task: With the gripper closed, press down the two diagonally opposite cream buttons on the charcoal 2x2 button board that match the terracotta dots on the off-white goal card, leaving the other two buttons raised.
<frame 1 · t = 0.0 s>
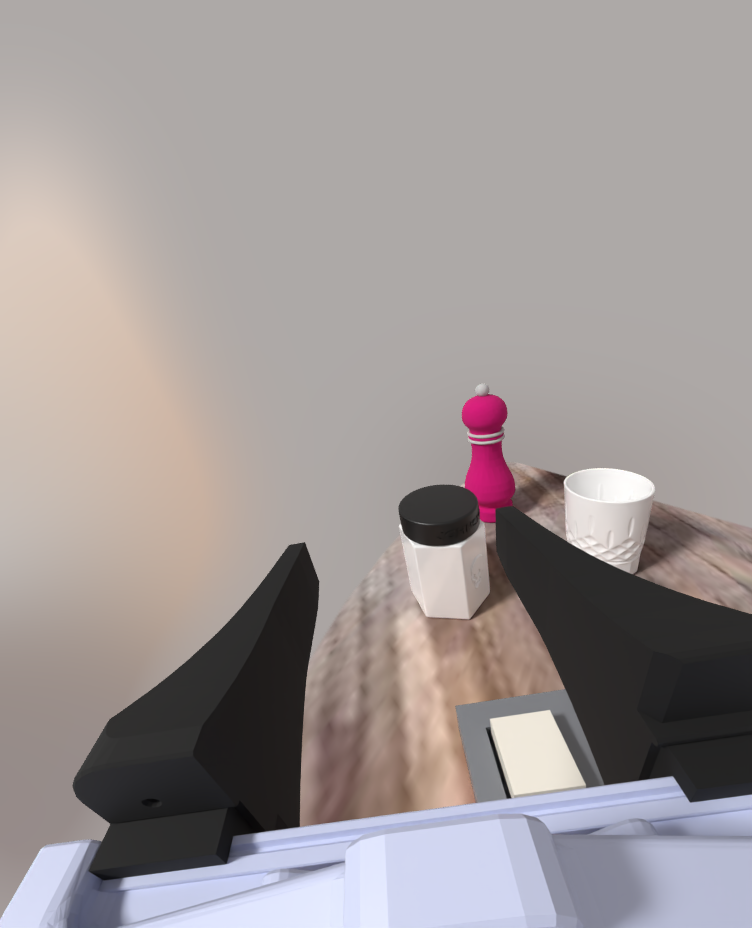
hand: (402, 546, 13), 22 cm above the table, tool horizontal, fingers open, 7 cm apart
jar: (449, 593, 39), on the table
button board: (626, 855, 19), on the table
white cup: (601, 561, 39), on the table
pepper mill: (491, 513, 53), on the table
button d: (533, 756, 21), point 3 cm above the table, slide at 0.0 cm
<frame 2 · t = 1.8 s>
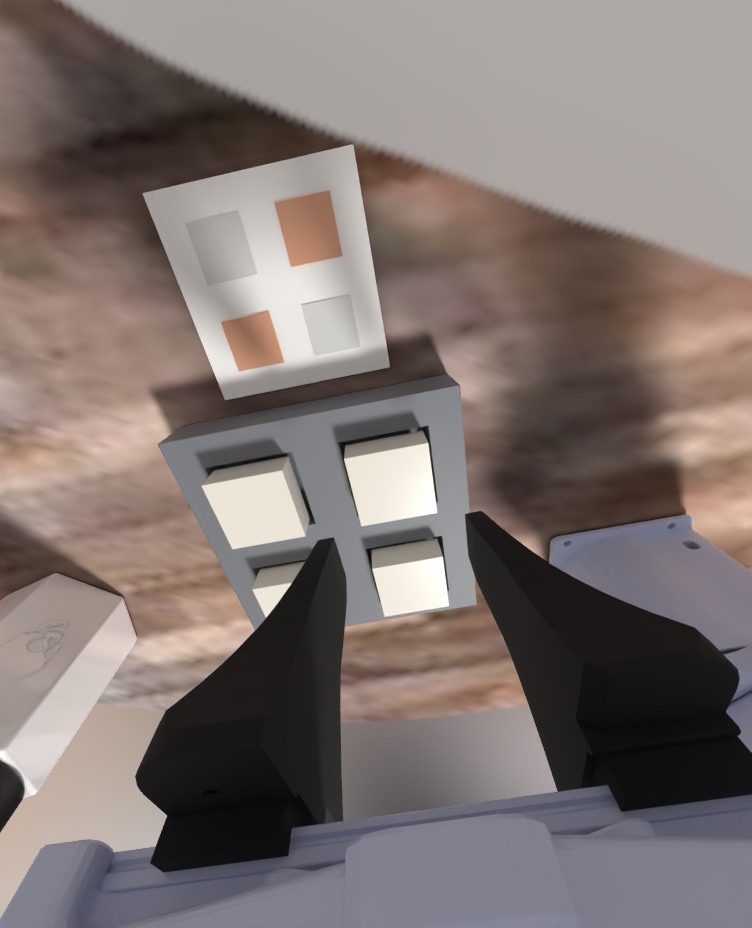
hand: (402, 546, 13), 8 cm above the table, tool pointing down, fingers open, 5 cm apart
button c: (260, 503, 18), point 3 cm above the table, slide at 0.0 cm
jar: (79, 613, 25), on the table
button board: (343, 511, 22), on the table
button a: (391, 479, 17), point 3 cm above the table, slide at 0.0 cm
goal card: (281, 290, 16), on the table
button b: (410, 578, 20), point 3 cm above the table, slide at 0.0 cm
button d: (298, 597, 21), point 3 cm above the table, slide at 0.0 cm
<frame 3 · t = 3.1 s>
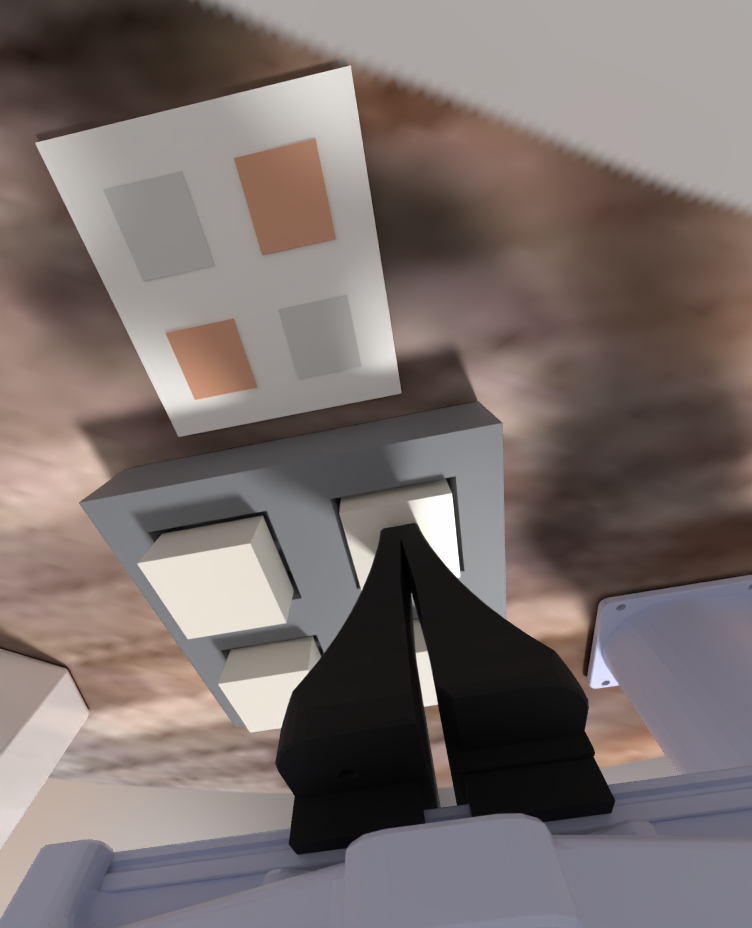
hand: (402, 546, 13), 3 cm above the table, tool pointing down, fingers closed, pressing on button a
button c: (224, 578, 13), point 3 cm above the table, slide at 0.0 cm
jar: (16, 685, 21), on the table
button board: (339, 570, 17), on the table
button a: (401, 533, 13), point 2 cm above the table, slide at 0.8 cm, touching gripper
goal card: (250, 288, 11), on the table
button b: (425, 662, 16), point 3 cm above the table, slide at 0.0 cm
button d: (280, 685, 16), point 3 cm above the table, slide at 0.0 cm
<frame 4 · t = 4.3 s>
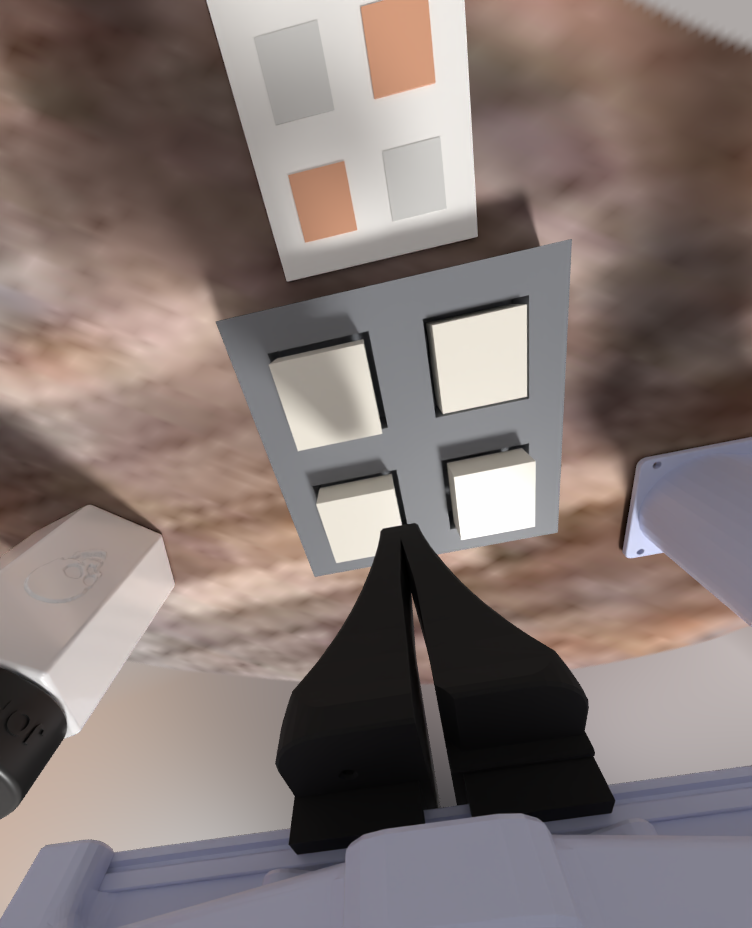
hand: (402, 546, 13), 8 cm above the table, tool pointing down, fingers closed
button c: (330, 396, 15), point 3 cm above the table, slide at 0.0 cm
jar: (113, 555, 23), on the table
button board: (409, 427, 20), on the table
button a: (476, 359, 16), point 2 cm above the table, slide at 0.9 cm
goal card: (358, 134, 14), on the table
button b: (490, 494, 18), point 3 cm above the table, slide at 0.0 cm
button d: (363, 519, 18), point 3 cm above the table, slide at 0.0 cm
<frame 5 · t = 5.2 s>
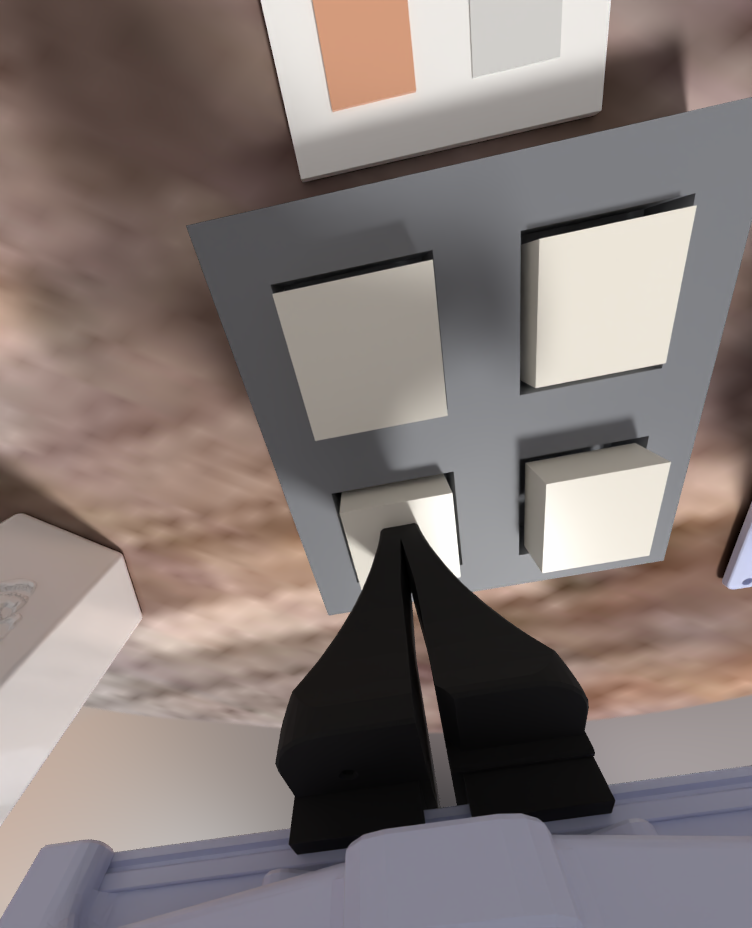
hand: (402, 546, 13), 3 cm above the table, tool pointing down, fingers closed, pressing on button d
button c: (367, 355, 10), point 3 cm above the table, slide at 0.0 cm
jar: (59, 579, 18), on the table
button board: (464, 412, 14), on the table
button a: (590, 305, 10), point 2 cm above the table, slide at 0.9 cm
button b: (587, 509, 13), point 3 cm above the table, slide at 0.0 cm
button d: (401, 533, 13), point 3 cm above the table, slide at 0.5 cm, touching gripper
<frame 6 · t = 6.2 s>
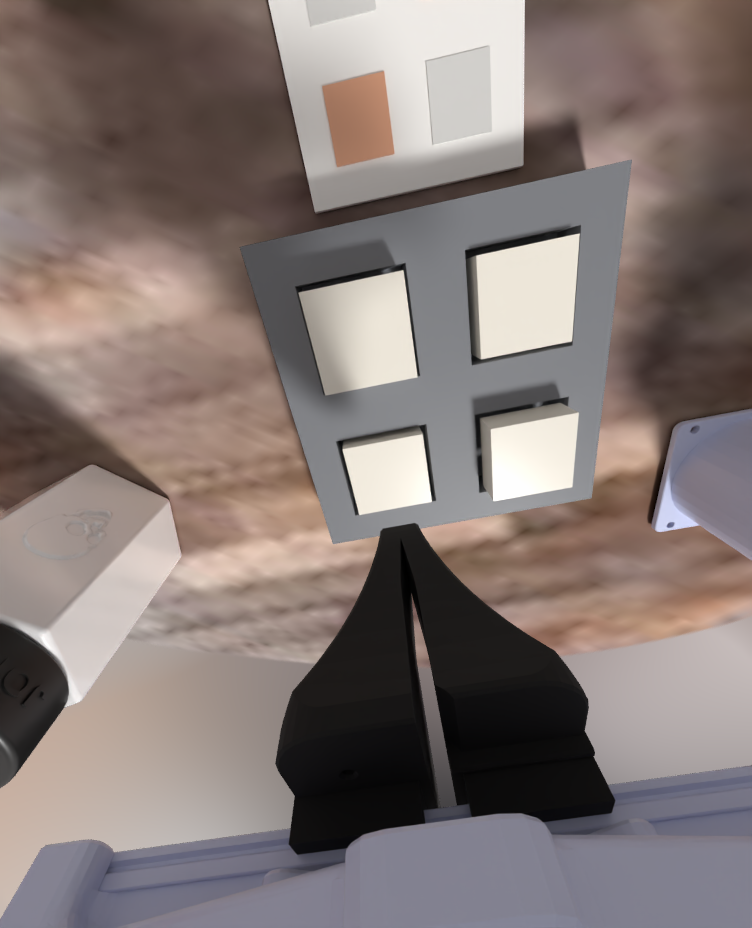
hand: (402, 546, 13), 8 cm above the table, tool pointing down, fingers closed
button c: (361, 335, 14), point 3 cm above the table, slide at 0.0 cm
jar: (116, 523, 22), on the table
button board: (437, 383, 18), on the table
button a: (518, 300, 15), point 2 cm above the table, slide at 0.9 cm
goal card: (400, 42, 13), on the table
button b: (526, 452, 17), point 3 cm above the table, slide at 0.0 cm
button d: (388, 469, 18), point 2 cm above the table, slide at 0.9 cm
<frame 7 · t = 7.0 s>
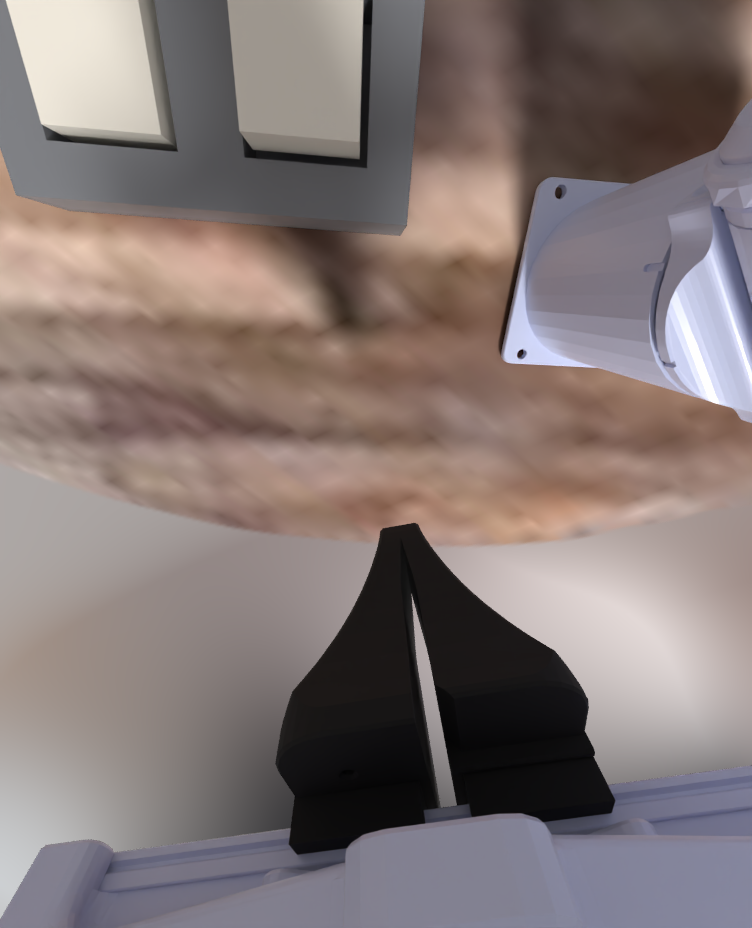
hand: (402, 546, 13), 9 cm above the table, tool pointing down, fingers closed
button b: (301, 67, 11), point 3 cm above the table, slide at 0.0 cm
button d: (100, 62, 12), point 2 cm above the table, slide at 0.9 cm
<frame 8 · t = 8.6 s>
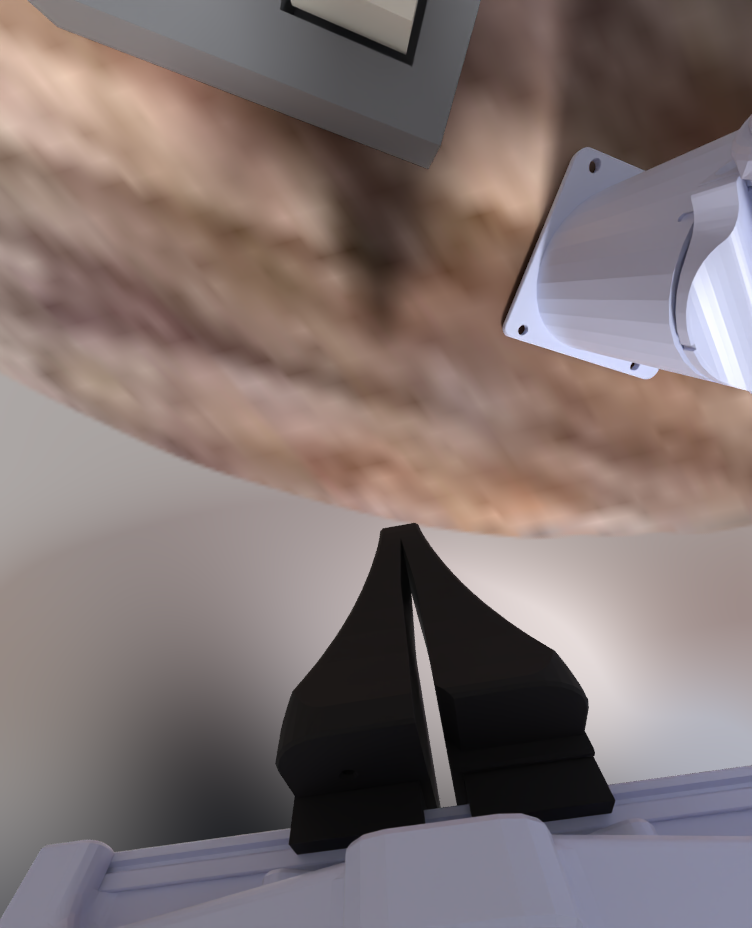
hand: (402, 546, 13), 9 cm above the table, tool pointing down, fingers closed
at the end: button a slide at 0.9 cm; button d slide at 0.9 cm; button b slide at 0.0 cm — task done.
